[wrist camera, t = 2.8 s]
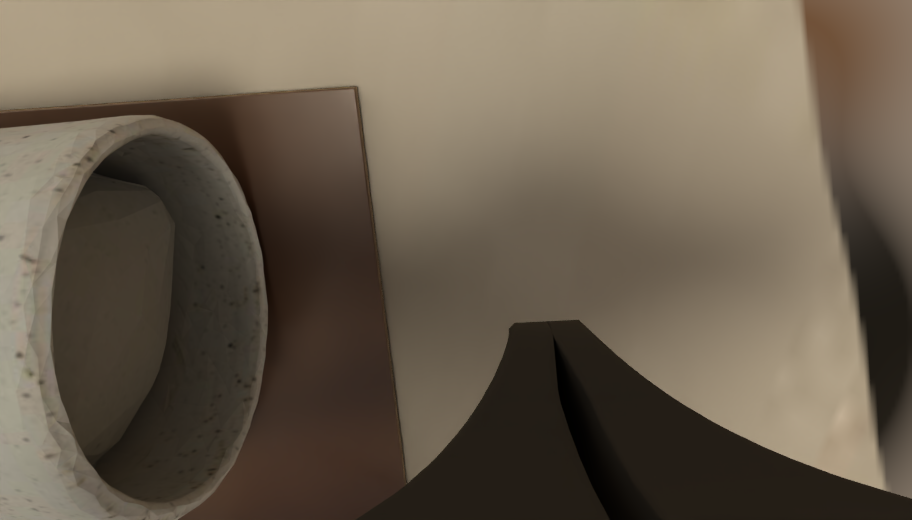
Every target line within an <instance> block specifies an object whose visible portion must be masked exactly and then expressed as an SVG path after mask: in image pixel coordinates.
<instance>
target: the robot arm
mask: <svg viewBox="0 0 912 520" xmlns="http://www.w3.org/2000/svg"><path fill="white" fill-rule="evenodd" d="M355 520H912V499H910V498H907V497H904V496H900V495H897V494H894V493H891V492H887V491H884V490H881V489H877V488H874V487H871V486H868V485H864V484H861V483H858V482H854V481H851V480H848V479H845V478H841V477H839V476H836V475H833V474H830V473H827V472H825V471H822V470H819V469H817V468H814V467H811V466H809V465H806V464H804V463H801V462H798V461H796V460H793V459H790V458H788V457H786V456H783V455H781V454H779V453H776V452H774V451H771V450H769V449H767V448H765V447H762V446H760V445H758V444H756V443H754V442H752V441H750V440H748V439H746V438H743V437H741V436H739V435H737V434H735V433H733V432H731V431H729V430H727V429H725V428H723V427H721V426H719V425H718V424H716V423H714V422H712V421H710V420H708V419H707V418H705V417H703V416H702V415H700V414H698V413H697V412H695V411H693V410H692V409H690V408H688V407H687V406H685V405H683V404H682V403H680V402H678V401H677V400H675V399H674V398H672V397H671V396H669V395H668V394H666V393H665V392H664V391H662V390H661V389H659V388H658V387H657V386H655V385H654V384H653V383H651V382H650V381H648V380H647V379H646V378H644V377H643V376H642V375H640V374H639V373H638V372H637V371H635V370H634V369H633V368H632V367H630V366H629V365H628V364H627V363H626V362H624V361H623V360H622V359H621V358H620V357H618V356H617V355H616V354H615V353H614V352H613V351H612V350H611V349H609V348H608V347H607V346H606V345H605V344H604V343H603V342H602V341H601V340H600V339H599V338H597V337H596V336H595V335H594V334H593V333H592V332H591V331H590V330H589V329H588V328H587V327H586V326H585V325H584V324H582V323H581V322H580V321H579V320H567V321H547V322H526V323H514V324H513V325H512V326H511V327H510V328H509V338H508V342H507V346H506V349H505V352H504V355H503V357H502V360H501V362H500V364H499V367H498V369H497V371H496V373H495V376H494V378H493V380H492V382H491V383H490V385H489V387H488V389H487V390H486V392H485V394H484V396H483V398H482V399H481V401H480V403H479V404H478V406H477V407H476V409H475V410H474V412H473V413H472V415H471V416H470V418H469V419H468V421H467V422H466V423H465V424H464V426H463V427H462V428H461V430H460V431H459V432H458V434H457V435H456V436H455V437H454V438H453V439H452V440H451V442H450V443H449V444H448V445H447V446H446V447H445V449H444V450H443V451H442V452H441V453H440V454H439V455H438V456H437V457H436V458H435V459H434V460H433V461H432V462H431V463H430V464H429V465H428V466H427V467H426V468H425V469H424V470H422V471H421V472H420V473H419V474H418V475H417V476H416V477H414V478H413V479H412V480H411V481H410V482H409V483H408V484H407V485H405V486H404V487H403V488H401V489H400V490H399V491H397V492H396V493H395V494H393V495H392V496H390V497H389V498H387V499H386V500H384V501H383V502H381V503H380V504H378V505H377V506H375V507H374V508H372V509H371V510H369V511H368V512H366V513H365V514H363V515H362V516H360V517H359V518H357V519H355Z"/></svg>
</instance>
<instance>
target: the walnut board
mask: <svg viewBox="0 0 912 520" xmlns="http://www.w3.org/2000/svg"><path fill="white" fill-rule="evenodd" d="M129 115H155V116H159V117H162V118H165V119H169V120H172V121H175V122H178V123H181V124H183V125H185V126H187V127H189V128H191V129H192V130H194V131H196V132H197V133H199V134H200V135H202V136H203V137H204V138H206V139H207V140H208V141H209V142H210V143H211V144H212V145H213V146H214V147H215V149H216V150H217V151H218V152H219V153H220V154H221V156H222V157H223V159H224V160H225V162H226V164H227V165H228V167H229V168H230V170H231V171H232V173H233V174H234V176H235V177H236V179H237V180H238V182H239V184H240V186H241V188H242V191H243V193H244V195H245V199H246V202H247V204H248V206H249V209H250V211H251V213H252V218H253V222H254V224H255V227H256V231H257V236H258V240H259V244H260V248H261V252H262V258H263V271H264V277H265V285H266V294H267V303H268V329H267V340H266V357H265V363H264V369H263V374H262V383H261V388H260V393H259V398H258V403H257V406H256V409H255V411H254V414H253V417H252V421H251V425H250V428H249V430H248V433H247V435H246V437H245V440H244V442H243V445H242V447H241V449H240V452H239V454H238V456H237V459H236V461H235V463H234V465H233V467H232V468H231V469H230V471H229V472H228V473H227V475H226V476H225V478H224V479H223V480H222V482H221V483H220V485H219V486H218V488H217V489H216V490H215V492H214V493H213V494H212V495H211V496H209V497H208V498H207V499H206V500H205V501H204V502H203V503H202V504H200V505H199V506H198V507H196V508H195V509H193V510H191V511H190V512H188V513H187V514H185V515H184V516H182V517H181V518H179V519H178V520H355V519H357V518H359V517H360V516H362V515H363V514H365V513H366V512H368V511H369V510H371V509H372V508H374V507H375V506H377V505H378V504H380V503H381V502H383V501H384V500H386V499H387V498H389V497H390V496H392V495H393V494H395V493H396V492H397V491H399V490H400V489H401V488H403V487H404V486H405V485H407V484H406V476H405V468H404V459H403V451H402V443H401V435H400V427H399V419H398V411H397V403H396V395H395V387H394V379H393V371H392V363H391V355H390V347H389V339H388V331H387V323H386V315H385V307H384V299H383V291H382V283H381V275H380V267H379V259H378V251H377V243H376V235H375V227H374V219H373V211H372V203H371V195H370V187H369V179H368V171H367V163H366V155H365V147H364V139H363V131H362V123H361V115H360V107H359V99H358V91H357V87H356V86H355V87H340V88H325V89H311V90H296V91H281V92H267V93H252V94H237V95H222V96H208V97H193V98H178V99H164V100H149V101H134V102H120V103H105V104H90V105H76V106H61V107H46V108H32V109H17V110H2V111H0V128H11V127H22V126H32V125H43V124H53V123H63V122H74V121H83V120H92V119H101V118H109V117H118V116H129Z"/></svg>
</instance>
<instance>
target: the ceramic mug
mask: <svg viewBox="0 0 912 520" xmlns="http://www.w3.org/2000/svg"><path fill="white" fill-rule="evenodd" d="M267 329H268V303H267V294H266V285H265V277H264V271H263V258H262V252H261V248H260V244H259V240H258V236H257V231H256V227H255V224H254V222H253V218H252V213H251V211H250V209H249V206H248V204H247V202H246V199H245V195H244V193H243V191H242V188H241V186H240V184H239V182H238V180H237V179H236V177H235V176H234V174H233V173H232V171H231V170H230V168H229V167H228V165H227V164H226V162H225V160H224V159H223V157H222V156H221V154H220V153H219V152H218V151H217V150H216V149H215V147H214V146H213V145H212V144H211V143H210V142H209V141H208V140H207V139H206V138H204V137H203V136H202V135H200V134H199V133H197V132H196V131H194V130H192V129H191V128H189V127H187V126H185V125H183V124H181V123H178V122H175V121H172V120H169V119H165V118H162V117H159V116H155V115H129V116H118V117H109V118H101V119H92V120H83V121H74V122H63V123H53V124H43V125H32V126H22V127H11V128H0V520H178V519H179V518H181V517H182V516H184V515H185V514H187V513H188V512H190V511H191V510H193V509H195V508H196V507H198V506H199V505H200V504H202V503H203V502H204V501H205V500H206V499H207V498H208V497H209V496H211V495H212V494H213V493H214V492H215V490H216V489H217V488H218V486H219V485H220V483H221V482H222V480H223V479H224V478H225V476H226V475H227V473H228V472H229V471H230V469H231V468H232V467H233V465H234V463H235V461H236V459H237V456H238V454H239V452H240V449H241V447H242V445H243V442H244V440H245V437H246V435H247V433H248V430H249V428H250V425H251V421H252V417H253V414H254V411H255V409H256V406H257V403H258V398H259V393H260V388H261V383H262V374H263V369H264V363H265V357H266V340H267Z"/></svg>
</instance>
